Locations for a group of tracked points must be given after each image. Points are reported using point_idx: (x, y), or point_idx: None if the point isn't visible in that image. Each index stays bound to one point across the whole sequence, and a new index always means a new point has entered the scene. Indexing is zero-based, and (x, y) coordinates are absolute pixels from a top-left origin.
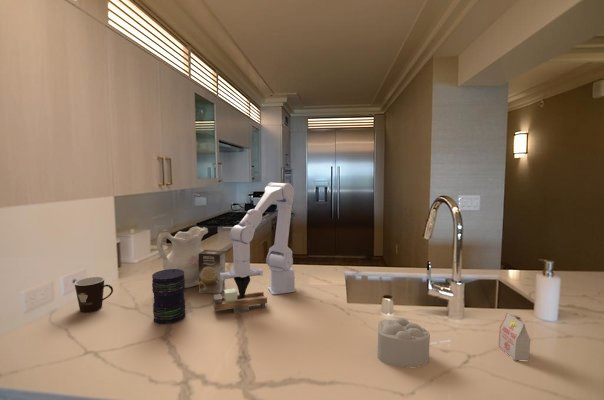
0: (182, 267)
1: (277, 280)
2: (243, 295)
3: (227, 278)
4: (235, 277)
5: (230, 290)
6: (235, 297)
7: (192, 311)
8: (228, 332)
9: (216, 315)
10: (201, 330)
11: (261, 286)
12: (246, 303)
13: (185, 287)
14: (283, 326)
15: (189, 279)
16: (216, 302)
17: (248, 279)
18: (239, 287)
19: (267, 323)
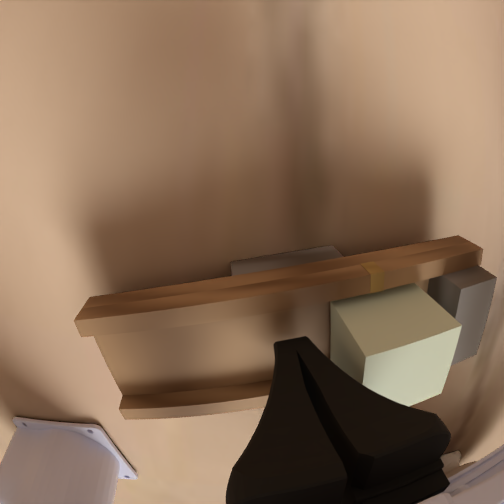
0: None
1: (64, 482)
2: (286, 351)
3: (501, 449)
4: (438, 489)
5: (410, 382)
6: (361, 320)
7: (493, 295)
8: (369, 3)
9: (427, 234)
10: (483, 86)
11: (170, 487)
12: (253, 282)
13: (442, 456)
14: (33, 25)
15: (450, 476)
16: (476, 269)
17: (260, 496)
18: (359, 396)
19: (110, 54)
